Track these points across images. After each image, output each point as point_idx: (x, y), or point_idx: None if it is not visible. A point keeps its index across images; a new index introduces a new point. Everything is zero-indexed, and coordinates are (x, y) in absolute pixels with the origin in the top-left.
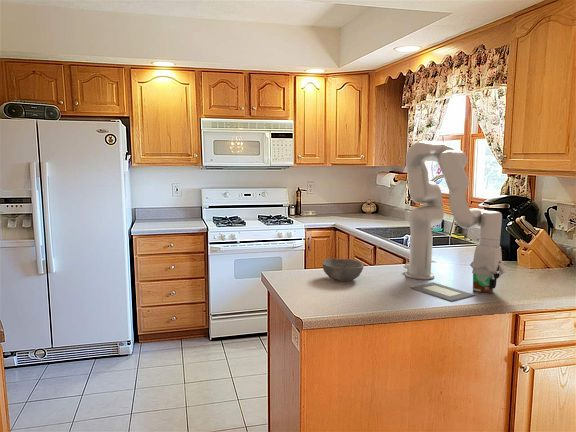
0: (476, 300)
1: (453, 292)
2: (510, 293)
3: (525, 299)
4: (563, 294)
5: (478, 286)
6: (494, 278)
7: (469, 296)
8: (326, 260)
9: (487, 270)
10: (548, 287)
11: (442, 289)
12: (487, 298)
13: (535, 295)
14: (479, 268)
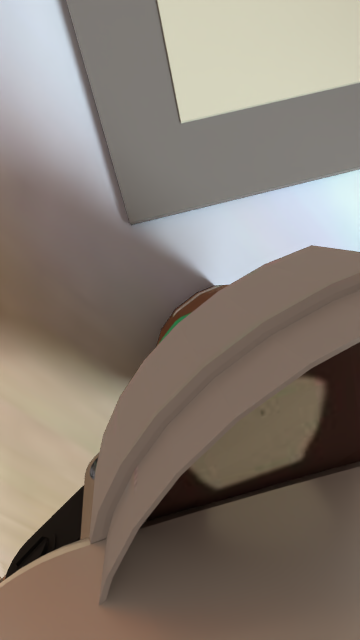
0: (22, 146)
1: (226, 64)
2: None
3: (7, 474)
4: None
5: (186, 307)
6: (87, 471)
7: (110, 150)
8: None
9: (109, 547)
10: None
11: (332, 29)
12: (59, 276)
13: None
14: (352, 482)
